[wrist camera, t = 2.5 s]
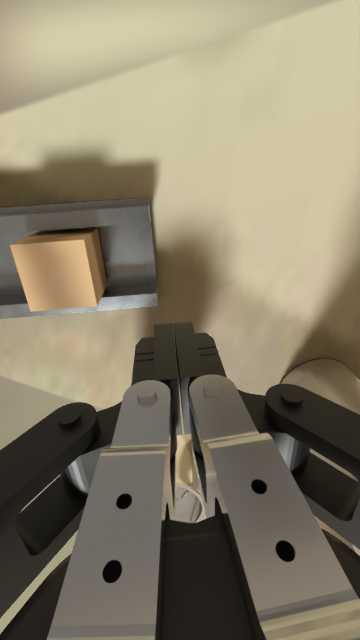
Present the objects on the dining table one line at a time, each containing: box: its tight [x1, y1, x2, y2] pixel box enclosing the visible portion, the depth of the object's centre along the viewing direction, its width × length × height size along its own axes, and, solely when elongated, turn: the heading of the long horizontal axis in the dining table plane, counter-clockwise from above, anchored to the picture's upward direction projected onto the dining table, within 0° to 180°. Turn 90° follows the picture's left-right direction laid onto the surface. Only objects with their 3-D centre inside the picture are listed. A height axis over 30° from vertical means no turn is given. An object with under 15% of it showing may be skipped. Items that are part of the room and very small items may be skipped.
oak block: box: [10, 228, 107, 312], centre depth 24 cm, size 5×5×5 cm
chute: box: [0, 197, 158, 319], centre depth 25 cm, size 22×9×4 cm, turn 94°
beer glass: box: [131, 373, 206, 523], centre depth 27 cm, size 7×7×15 cm
